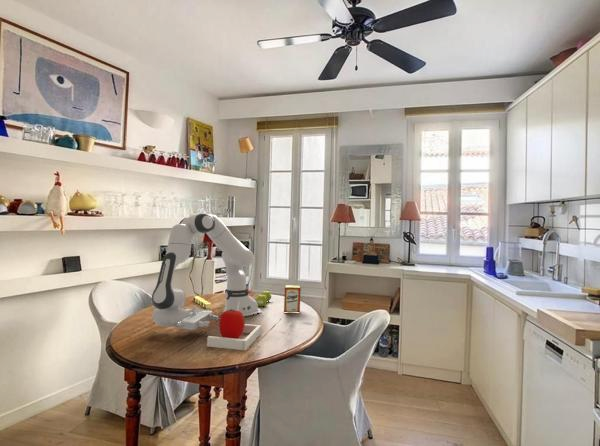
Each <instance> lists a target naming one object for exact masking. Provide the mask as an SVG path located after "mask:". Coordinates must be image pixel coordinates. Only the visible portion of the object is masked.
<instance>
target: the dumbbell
mask: <svg viewBox="0 0 600 446" xmlns="http://www.w3.org/2000/svg"><path fill="white" fill-rule="evenodd" d="M271 299H272V294H271V292H270V291H267V290H265V291H262V292H261V294H258V295H257V296H256V298H255V299H254V300H256V302H257V304H258V307H259V306H264V307H265V305H266V304H267V303H268V302H267V301H269V300H271ZM269 302H270V301H269Z"/></svg>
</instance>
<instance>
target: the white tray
mask: <svg viewBox="0 0 600 446" xmlns="http://www.w3.org/2000/svg"><path fill="white" fill-rule="evenodd" d="M248 333H250V334H248ZM242 334H248V335H247V336H246V337H245V338H243V339H242V338H238V339H234V338H224V337H222V336H213V335H207V337H206V338H207V339H206V345H207V346H206V347H211V348H217V349H219V348H220V349H226V350H227V349H228V350H230V349H231V350H239V351H247V350H248V349H249V348H250V347H251V345H252V344H253V343H254V342H255V341H256V340H257V339H258V338H257V337H258V336H259V337H260V336H261V334H262V325H261V324H260V325H259V324H249V323H245V325H244V329H243V332H242ZM256 338H257V339H256ZM249 346H250V347H249Z"/></svg>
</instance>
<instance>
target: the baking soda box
mask: <svg viewBox="0 0 600 446" xmlns="http://www.w3.org/2000/svg"><path fill="white" fill-rule="evenodd" d="M283 298H284V299H283V300H284V302H283V303H284V304H283V305H284V306H283V313H284V312H301V285H294V284H291V285H289V284H285V285H284V297H283Z"/></svg>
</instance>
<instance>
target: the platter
mask: <svg viewBox="0 0 600 446" xmlns="http://www.w3.org/2000/svg"><path fill="white" fill-rule="evenodd" d="M193 302H194V303H196V304H198V305H199V306H200V307H203V308H204V310H210V309H212V303H211V302H209V301H207V300H206V299H204V298H203V297H200V296H199V295H197V296H193Z"/></svg>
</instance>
